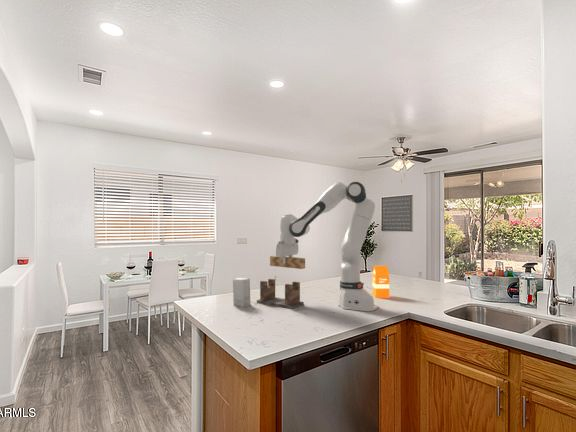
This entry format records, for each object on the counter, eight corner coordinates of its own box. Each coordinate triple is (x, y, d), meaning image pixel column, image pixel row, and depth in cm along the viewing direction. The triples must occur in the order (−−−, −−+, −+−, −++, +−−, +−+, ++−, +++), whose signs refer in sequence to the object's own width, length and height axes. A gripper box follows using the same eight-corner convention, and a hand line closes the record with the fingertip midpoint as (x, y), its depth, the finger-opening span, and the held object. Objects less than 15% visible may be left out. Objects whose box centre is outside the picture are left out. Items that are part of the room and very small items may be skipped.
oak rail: (305, 268, 191) (305, 258, 192) (301, 269, 188) (301, 258, 188) (273, 264, 205) (273, 255, 205) (270, 265, 202) (270, 256, 202)
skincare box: (250, 304, 187) (250, 278, 187) (243, 307, 181) (243, 280, 181) (239, 302, 191) (239, 277, 192) (232, 305, 186) (232, 278, 186)
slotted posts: (303, 304, 187) (303, 282, 187) (292, 309, 177) (292, 285, 177) (268, 298, 202) (268, 278, 202) (256, 302, 192) (256, 281, 192)
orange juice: (389, 297, 203) (389, 266, 203) (375, 297, 203) (375, 266, 204) (385, 295, 211) (385, 264, 211) (372, 295, 211) (372, 264, 211)
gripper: (281, 241, 187) (281, 265, 186) (300, 240, 203) (300, 261, 203) (273, 241, 190) (273, 264, 190) (291, 239, 207) (291, 260, 207)
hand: (287, 262), depth 197 cm, fingers closed on oak rail, 4 cm apart
